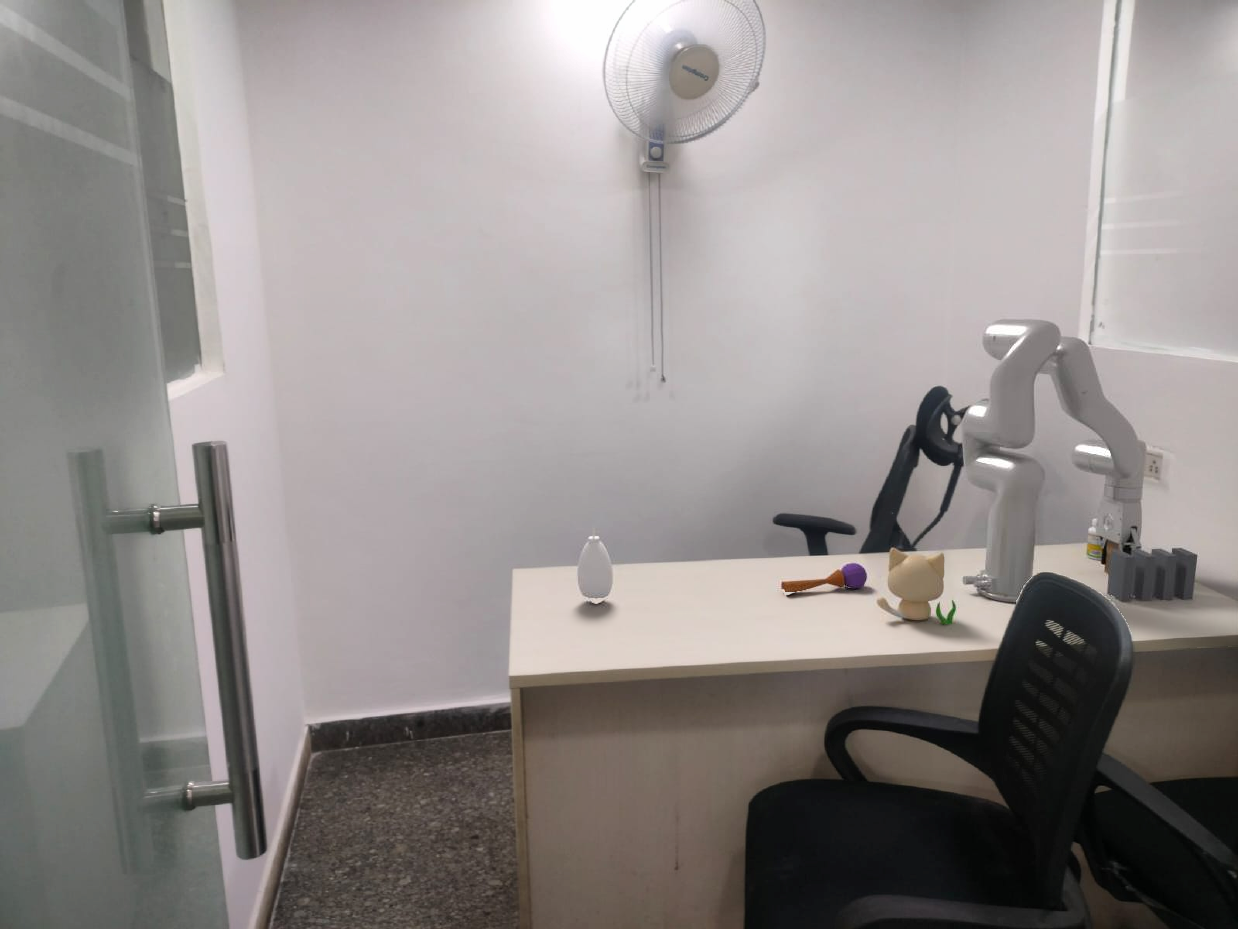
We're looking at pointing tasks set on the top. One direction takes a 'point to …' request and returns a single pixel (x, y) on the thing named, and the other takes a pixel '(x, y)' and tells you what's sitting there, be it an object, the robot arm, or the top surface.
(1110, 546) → the domino
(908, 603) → the kitten
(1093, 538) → the supplement bottle
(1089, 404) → the robot arm
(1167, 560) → the domino
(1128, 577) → the domino
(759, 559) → the top surface
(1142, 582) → the domino
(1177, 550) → the domino
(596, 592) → the white tall oval piece
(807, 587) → the kendama
